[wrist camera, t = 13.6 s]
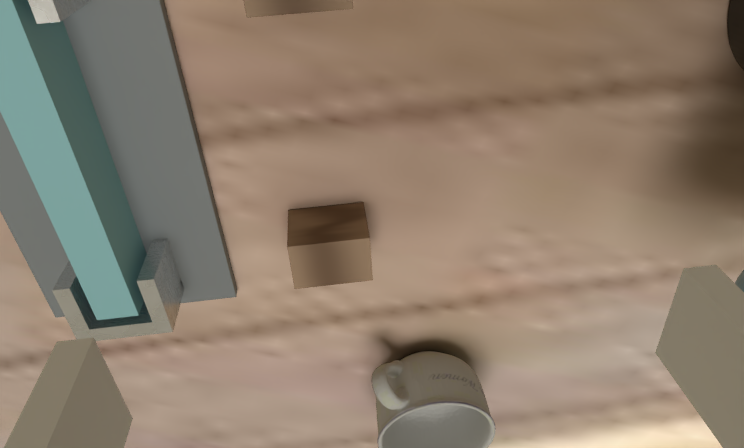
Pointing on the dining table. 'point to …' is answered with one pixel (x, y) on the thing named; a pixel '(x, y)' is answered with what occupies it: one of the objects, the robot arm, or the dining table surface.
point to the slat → (69, 159)
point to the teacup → (431, 404)
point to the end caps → (157, 272)
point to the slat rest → (327, 223)
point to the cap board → (131, 151)
